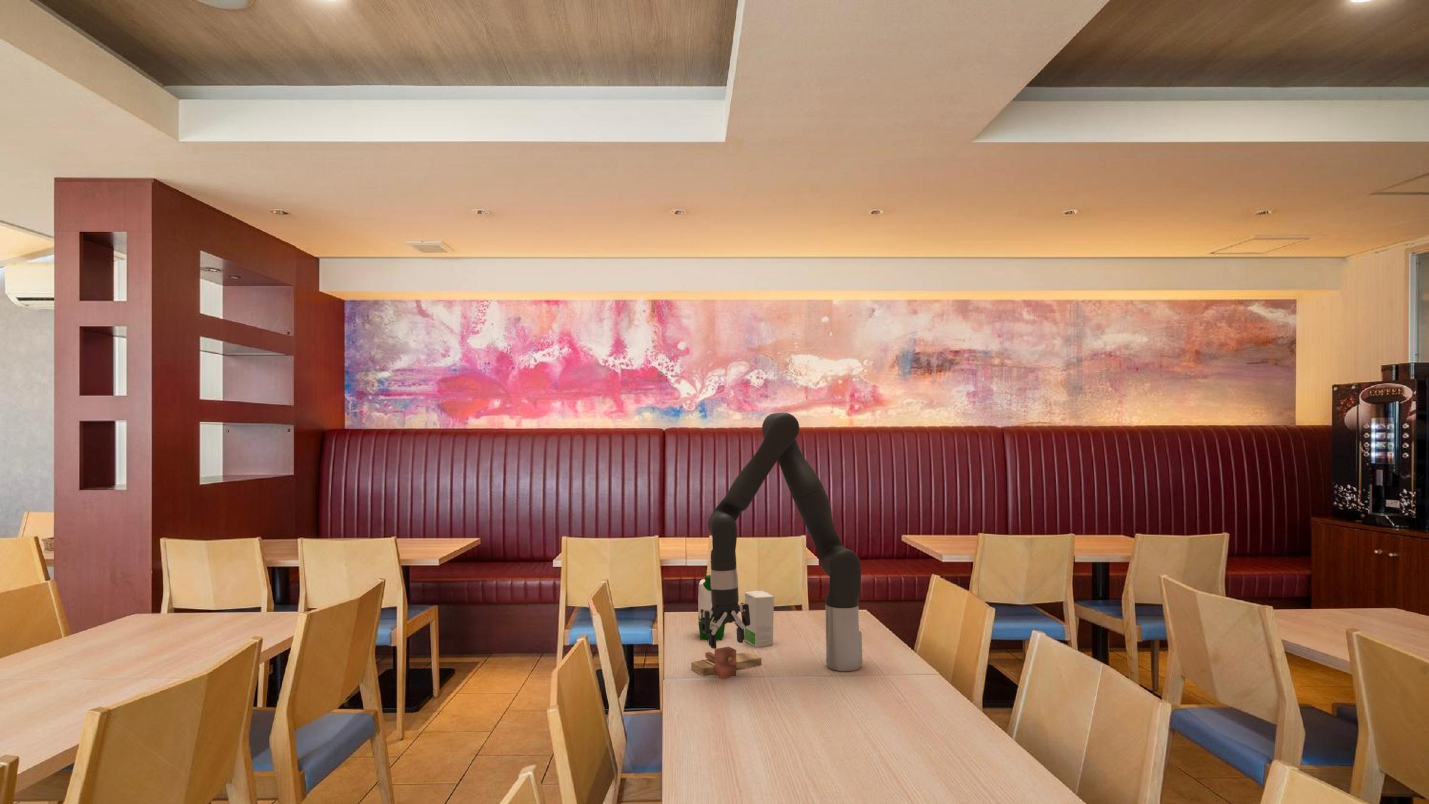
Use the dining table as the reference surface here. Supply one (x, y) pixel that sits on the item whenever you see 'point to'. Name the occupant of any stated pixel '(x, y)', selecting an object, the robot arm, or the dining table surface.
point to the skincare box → (759, 619)
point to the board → (742, 662)
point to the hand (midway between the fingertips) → (726, 645)
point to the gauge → (723, 661)
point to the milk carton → (707, 607)
